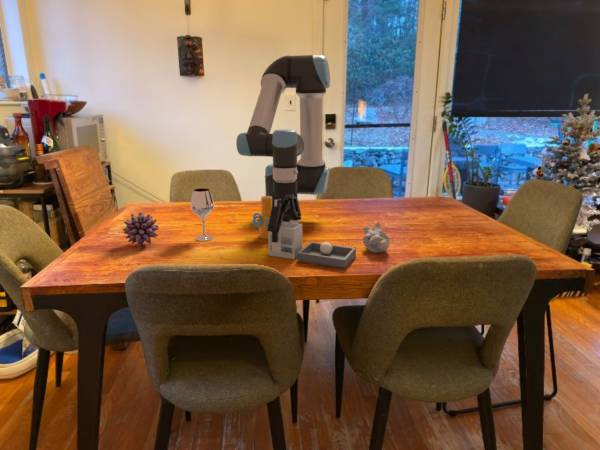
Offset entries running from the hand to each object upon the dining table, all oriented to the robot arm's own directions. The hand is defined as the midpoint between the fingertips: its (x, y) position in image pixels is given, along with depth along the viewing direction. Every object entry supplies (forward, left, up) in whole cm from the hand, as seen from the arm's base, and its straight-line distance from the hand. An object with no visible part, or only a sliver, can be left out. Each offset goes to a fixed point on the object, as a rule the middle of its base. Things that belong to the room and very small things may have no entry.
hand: (285, 244), depth 140 cm
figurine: (+26, +15, -3) cm, 30 cm away
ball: (+13, +4, -1) cm, 13 cm away
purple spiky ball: (-49, -12, -3) cm, 51 cm away
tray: (+14, +1, -3) cm, 14 cm away
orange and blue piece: (-14, +14, -3) cm, 20 cm away
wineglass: (-34, +3, -3) cm, 34 cm away
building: (0, 0, -3) cm, 3 cm away
